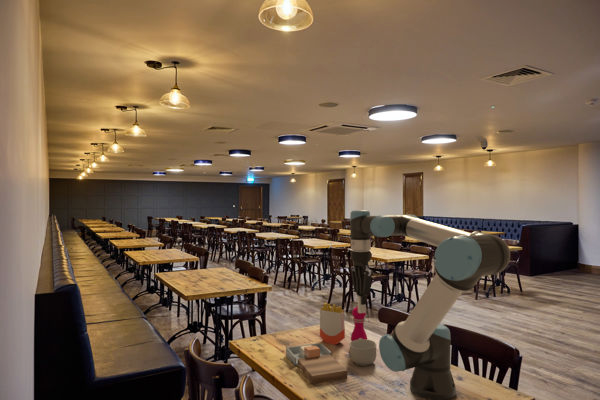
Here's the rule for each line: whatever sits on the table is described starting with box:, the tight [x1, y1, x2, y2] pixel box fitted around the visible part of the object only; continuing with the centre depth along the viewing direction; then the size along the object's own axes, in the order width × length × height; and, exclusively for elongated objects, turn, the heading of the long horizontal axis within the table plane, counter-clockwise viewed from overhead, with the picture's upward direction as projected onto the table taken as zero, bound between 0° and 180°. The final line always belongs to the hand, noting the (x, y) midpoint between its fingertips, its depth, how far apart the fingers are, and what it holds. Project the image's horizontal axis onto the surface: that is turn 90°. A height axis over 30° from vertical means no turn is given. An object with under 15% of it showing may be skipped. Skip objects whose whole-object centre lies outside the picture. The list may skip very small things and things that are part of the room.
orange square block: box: [304, 346, 320, 358], centre depth 164 cm, size 5×5×3 cm
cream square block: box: [300, 345, 312, 358], centre depth 168 cm, size 5×5×3 cm
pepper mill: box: [350, 303, 368, 342], centre depth 178 cm, size 7×7×20 cm
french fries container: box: [319, 302, 346, 346], centre depth 186 cm, size 5×11×18 cm, turn 58°
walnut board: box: [297, 355, 348, 385], centre depth 154 cm, size 16×14×3 cm
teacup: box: [348, 338, 377, 367], centre depth 164 cm, size 14×11×8 cm
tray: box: [285, 342, 333, 367], centre depth 168 cm, size 12×16×4 cm
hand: (361, 312), depth 153 cm, fingers closed
